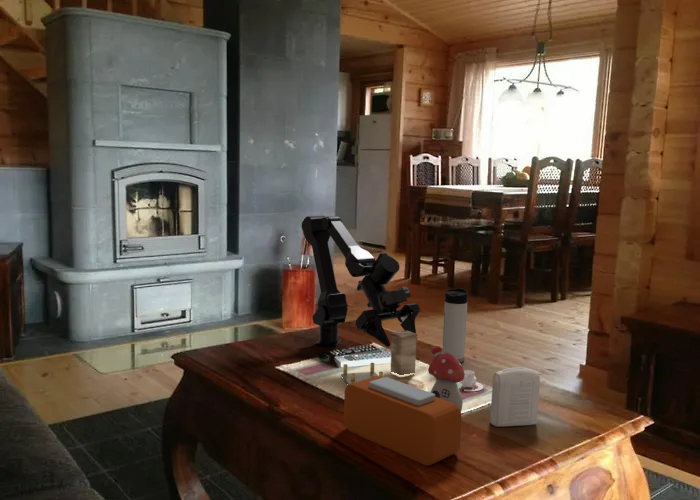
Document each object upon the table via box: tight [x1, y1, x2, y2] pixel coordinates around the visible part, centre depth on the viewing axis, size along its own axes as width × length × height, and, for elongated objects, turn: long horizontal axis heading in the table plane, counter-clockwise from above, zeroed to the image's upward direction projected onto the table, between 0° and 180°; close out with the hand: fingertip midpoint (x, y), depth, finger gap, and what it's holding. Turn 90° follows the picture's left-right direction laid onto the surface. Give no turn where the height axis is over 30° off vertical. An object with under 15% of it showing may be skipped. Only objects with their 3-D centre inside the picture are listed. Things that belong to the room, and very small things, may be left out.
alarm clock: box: [343, 376, 462, 466], centre depth 132 cm, size 24×8×11 cm, turn 44°
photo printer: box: [489, 366, 541, 427], centre depth 143 cm, size 10×4×12 cm, turn 103°
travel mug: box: [441, 287, 468, 363], centre depth 187 cm, size 6×7×20 cm
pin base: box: [340, 362, 384, 385], centre depth 167 cm, size 9×9×3 cm
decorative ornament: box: [428, 345, 465, 412], centre depth 146 cm, size 9×6×15 cm
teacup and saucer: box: [462, 369, 484, 392], centre depth 166 cm, size 9×8×4 cm
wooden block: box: [390, 330, 418, 375], centre depth 173 cm, size 4×5×11 cm
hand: (402, 343), depth 173 cm, fingers open, 9 cm apart
